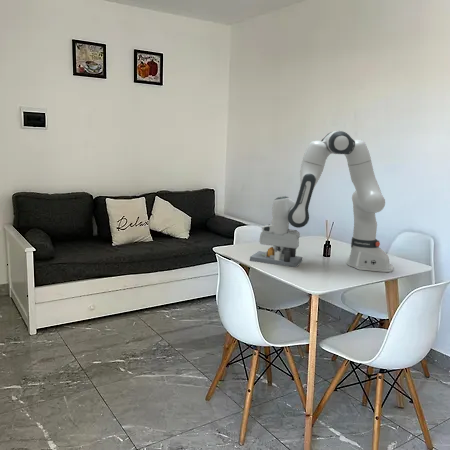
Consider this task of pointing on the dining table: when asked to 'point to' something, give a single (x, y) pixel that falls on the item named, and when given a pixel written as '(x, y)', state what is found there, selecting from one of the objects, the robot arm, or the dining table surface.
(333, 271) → the dining table surface
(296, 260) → the panel
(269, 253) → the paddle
